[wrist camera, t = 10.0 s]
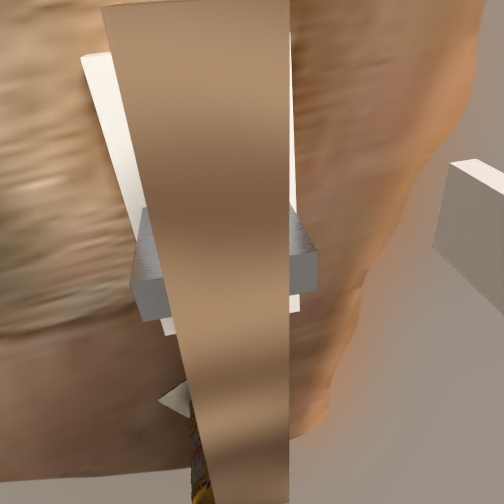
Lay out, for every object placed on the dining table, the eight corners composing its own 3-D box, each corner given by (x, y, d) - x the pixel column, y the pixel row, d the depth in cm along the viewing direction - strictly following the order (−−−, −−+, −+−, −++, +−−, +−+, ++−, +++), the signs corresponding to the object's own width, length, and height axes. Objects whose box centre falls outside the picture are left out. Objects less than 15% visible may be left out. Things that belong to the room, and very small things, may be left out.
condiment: (215, 432, 41) (226, 568, 31) (157, 398, 37) (149, 545, 27) (269, 398, 40) (299, 530, 30) (215, 359, 35) (229, 499, 25)
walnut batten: (126, 2, 12) (100, 7, 8) (252, -6, 12) (289, -6, 8) (212, 433, 26) (218, 517, 21) (271, 422, 26) (289, 502, 22)
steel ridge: (142, 207, 25) (129, 282, 18) (280, 186, 25) (317, 250, 19) (152, 240, 26) (142, 322, 19) (282, 219, 27) (317, 290, 20)
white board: (85, 54, 21) (80, 57, 20) (283, 30, 22) (290, 32, 21) (165, 322, 32) (165, 335, 31) (295, 299, 33) (299, 311, 32)
